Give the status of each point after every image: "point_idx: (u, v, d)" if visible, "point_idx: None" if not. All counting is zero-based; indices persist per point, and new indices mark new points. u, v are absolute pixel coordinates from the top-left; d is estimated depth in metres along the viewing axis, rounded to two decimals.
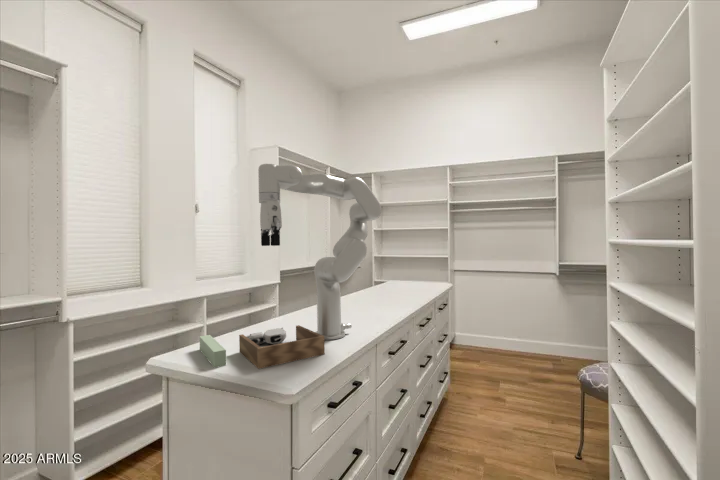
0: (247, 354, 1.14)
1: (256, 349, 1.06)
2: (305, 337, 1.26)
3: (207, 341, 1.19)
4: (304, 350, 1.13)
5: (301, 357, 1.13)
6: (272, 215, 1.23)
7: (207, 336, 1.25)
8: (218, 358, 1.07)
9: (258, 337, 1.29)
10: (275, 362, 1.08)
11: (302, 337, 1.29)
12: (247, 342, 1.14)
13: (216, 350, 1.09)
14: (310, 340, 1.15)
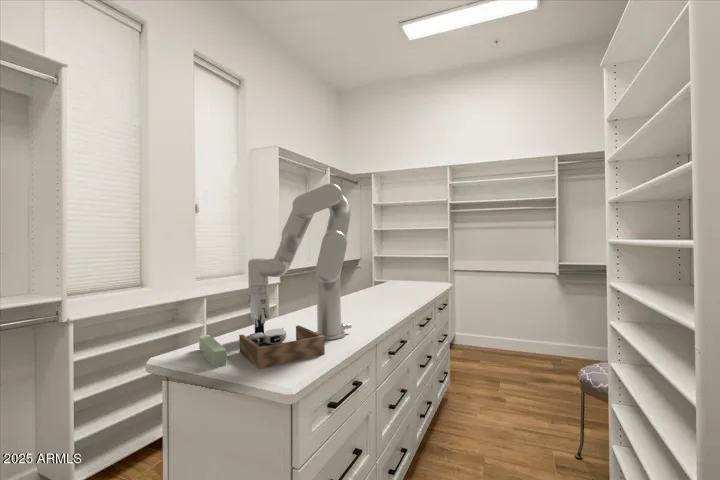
0: (247, 354, 1.14)
1: (256, 349, 1.06)
2: (305, 337, 1.26)
3: (207, 341, 1.19)
4: (304, 350, 1.13)
5: (301, 357, 1.13)
6: (260, 308, 1.33)
7: (207, 336, 1.25)
8: (218, 358, 1.07)
9: (258, 337, 1.28)
10: (275, 362, 1.08)
11: (302, 337, 1.29)
12: (247, 342, 1.14)
13: (216, 350, 1.09)
14: (310, 340, 1.15)
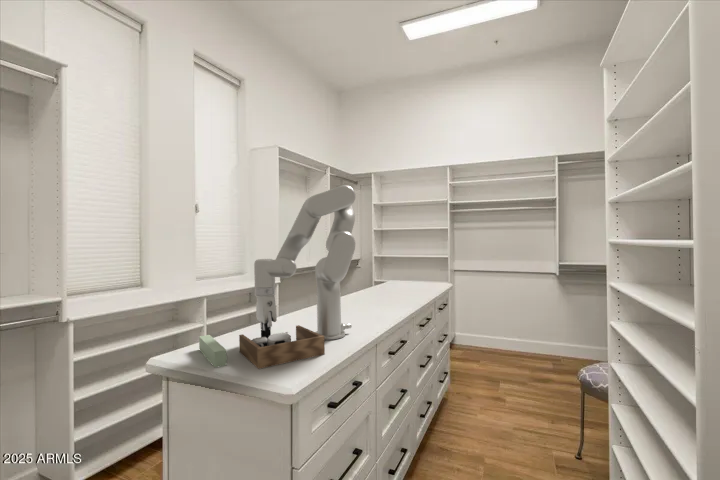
0: (247, 354, 1.14)
1: (256, 349, 1.06)
2: (305, 337, 1.26)
3: (207, 341, 1.19)
4: (304, 350, 1.13)
5: (301, 357, 1.13)
6: (267, 311, 1.27)
7: (207, 336, 1.25)
8: (218, 358, 1.07)
9: (261, 342, 1.22)
10: (275, 362, 1.08)
11: (302, 337, 1.29)
12: (247, 342, 1.14)
13: (216, 350, 1.09)
14: (310, 340, 1.15)
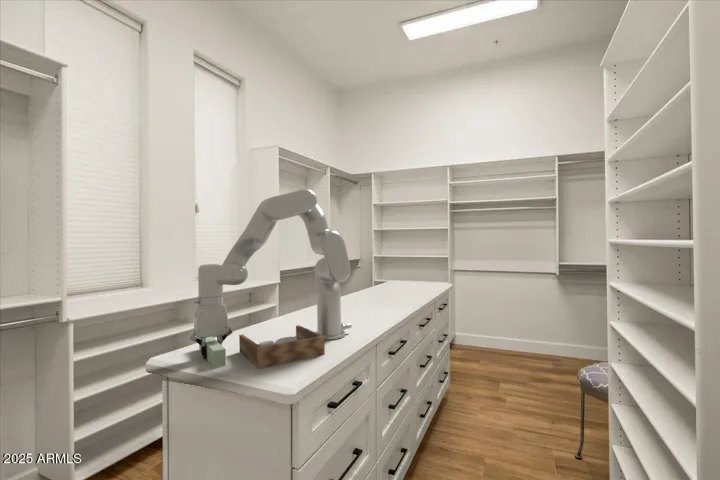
0: (247, 354, 1.14)
1: (256, 349, 1.06)
2: (305, 337, 1.26)
3: (207, 340, 1.19)
4: (304, 350, 1.13)
5: (301, 357, 1.13)
6: (194, 322, 1.15)
7: None
8: (218, 357, 1.07)
9: None
10: (275, 362, 1.08)
11: (302, 337, 1.29)
12: (247, 342, 1.14)
13: (216, 349, 1.09)
14: (310, 340, 1.15)
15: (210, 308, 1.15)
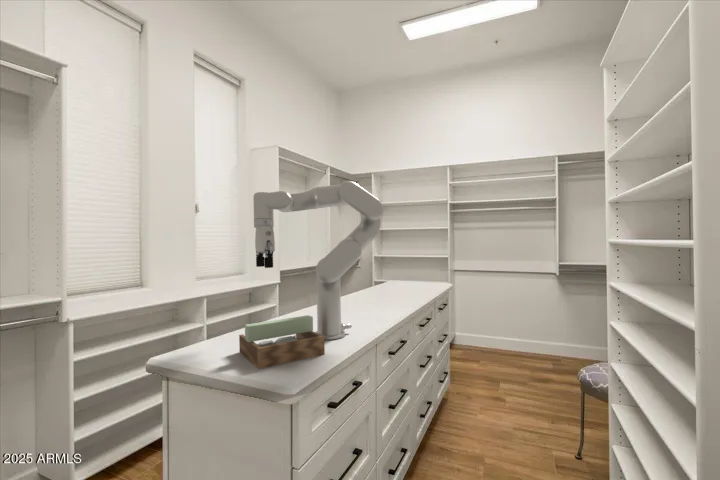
0: (247, 354, 1.14)
1: (256, 349, 1.06)
2: (305, 337, 1.26)
3: (274, 322, 1.18)
4: (304, 350, 1.13)
5: (301, 357, 1.13)
6: (266, 240, 1.34)
7: (252, 324, 1.15)
8: None
9: None
10: (275, 362, 1.08)
11: (302, 337, 1.29)
12: (247, 342, 1.14)
13: (307, 317, 1.25)
14: (310, 340, 1.15)
15: None
